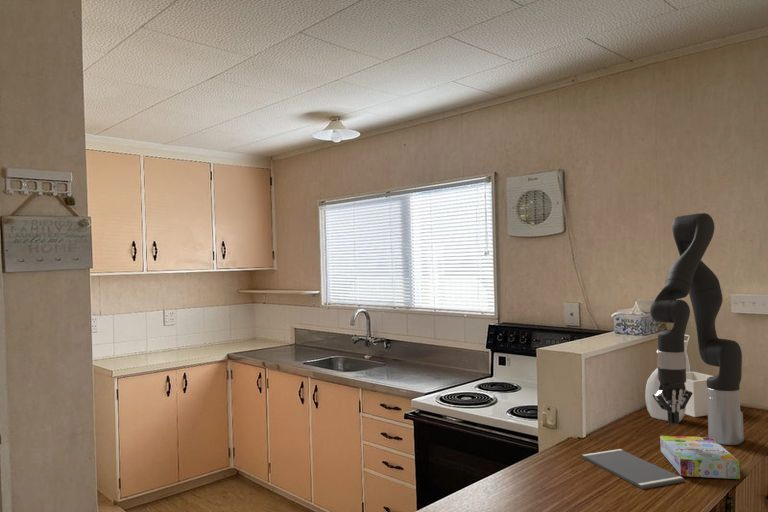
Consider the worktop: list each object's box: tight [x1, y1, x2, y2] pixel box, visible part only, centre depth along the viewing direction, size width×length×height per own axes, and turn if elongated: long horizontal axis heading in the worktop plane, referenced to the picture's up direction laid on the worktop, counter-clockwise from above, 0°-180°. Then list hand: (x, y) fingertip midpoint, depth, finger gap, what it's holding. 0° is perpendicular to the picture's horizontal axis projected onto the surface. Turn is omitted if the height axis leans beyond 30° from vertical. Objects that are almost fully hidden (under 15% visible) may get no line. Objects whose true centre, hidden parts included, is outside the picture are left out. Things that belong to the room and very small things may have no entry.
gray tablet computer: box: [580, 448, 686, 490], centre depth 165 cm, size 14×26×1 cm, turn 17°
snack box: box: [659, 435, 741, 480], centre depth 166 cm, size 21×6×15 cm
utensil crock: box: [684, 371, 714, 418], centre depth 219 cm, size 14×14×14 cm
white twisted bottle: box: [684, 334, 691, 372], centre depth 233 cm, size 8×8×28 cm
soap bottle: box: [644, 349, 686, 423], centre depth 211 cm, size 14×8×27 cm, turn 39°
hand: (673, 423), depth 170 cm, fingers closed
